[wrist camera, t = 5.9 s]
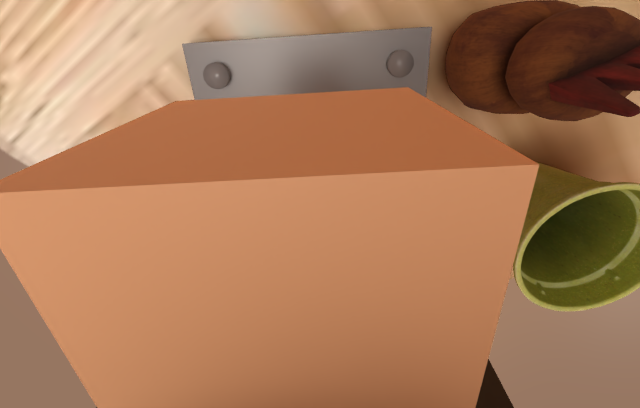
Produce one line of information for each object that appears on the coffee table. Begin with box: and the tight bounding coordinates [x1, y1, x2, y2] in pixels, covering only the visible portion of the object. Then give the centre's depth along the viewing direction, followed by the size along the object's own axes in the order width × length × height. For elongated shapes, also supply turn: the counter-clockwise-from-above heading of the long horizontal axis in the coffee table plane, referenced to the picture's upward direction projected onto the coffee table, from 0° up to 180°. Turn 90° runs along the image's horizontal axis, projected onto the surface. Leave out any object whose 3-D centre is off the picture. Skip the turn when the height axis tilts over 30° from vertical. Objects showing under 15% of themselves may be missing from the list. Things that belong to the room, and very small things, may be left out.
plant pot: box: [513, 162, 640, 311], centre depth 24 cm, size 9×9×9 cm
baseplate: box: [182, 27, 432, 100], centre depth 25 cm, size 16×16×2 cm
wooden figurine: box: [445, 0, 640, 121], centre depth 16 cm, size 7×6×15 cm
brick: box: [0, 87, 539, 408], centre depth 9 cm, size 6×13×6 cm, turn 3°
